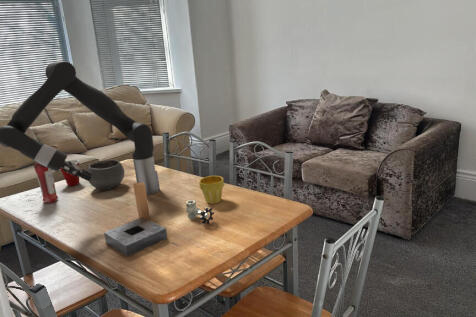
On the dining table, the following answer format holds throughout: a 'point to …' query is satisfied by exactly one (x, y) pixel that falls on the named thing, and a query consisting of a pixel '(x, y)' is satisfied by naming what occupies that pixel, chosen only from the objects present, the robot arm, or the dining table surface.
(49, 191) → the sauce bottle
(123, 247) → the socket block
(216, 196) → the plant pot
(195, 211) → the valve
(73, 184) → the plastic cup
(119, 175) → the bowl
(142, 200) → the peg
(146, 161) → the robot arm
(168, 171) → the dining table surface
